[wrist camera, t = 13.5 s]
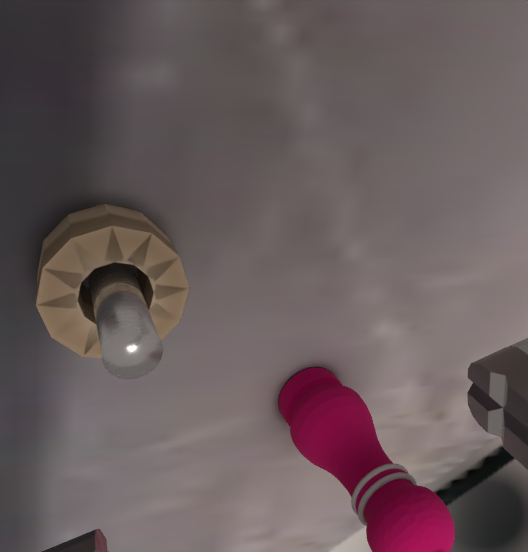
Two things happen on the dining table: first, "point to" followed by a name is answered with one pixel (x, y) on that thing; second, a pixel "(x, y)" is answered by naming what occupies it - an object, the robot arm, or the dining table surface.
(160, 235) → the bead
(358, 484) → the pepper mill
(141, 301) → the frosted glass rod
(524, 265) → the dining table surface
